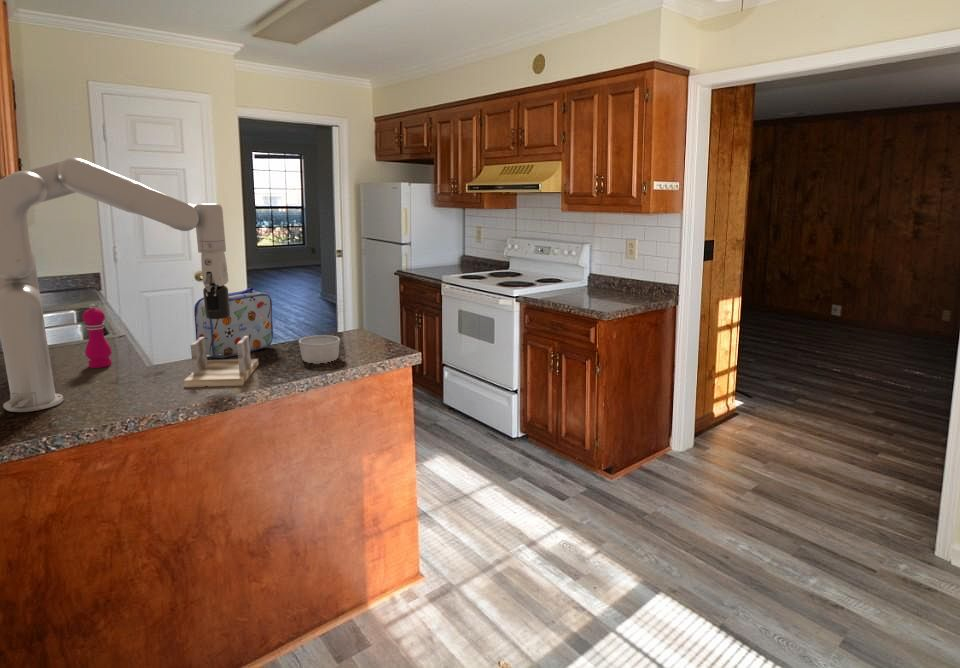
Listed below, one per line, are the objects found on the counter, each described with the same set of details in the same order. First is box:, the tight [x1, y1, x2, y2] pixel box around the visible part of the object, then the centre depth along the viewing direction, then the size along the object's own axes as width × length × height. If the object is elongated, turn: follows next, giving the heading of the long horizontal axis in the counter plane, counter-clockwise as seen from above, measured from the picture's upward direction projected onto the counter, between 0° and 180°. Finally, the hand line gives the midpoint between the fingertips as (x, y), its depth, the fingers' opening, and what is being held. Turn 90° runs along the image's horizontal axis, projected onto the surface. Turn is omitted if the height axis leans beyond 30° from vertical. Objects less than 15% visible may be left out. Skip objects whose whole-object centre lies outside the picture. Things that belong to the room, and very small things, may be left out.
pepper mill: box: [82, 303, 113, 369], centre depth 202 cm, size 7×7×20 cm
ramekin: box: [298, 334, 341, 365], centre depth 211 cm, size 13×13×7 cm
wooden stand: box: [183, 336, 260, 388], centre depth 193 cm, size 22×16×11 cm
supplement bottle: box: [202, 284, 230, 319], centre depth 189 cm, size 7×7×12 cm
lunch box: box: [193, 287, 274, 359], centre depth 218 cm, size 28×10×22 cm, turn 149°
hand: (217, 306), depth 189 cm, fingers closed on supplement bottle, 6 cm apart
